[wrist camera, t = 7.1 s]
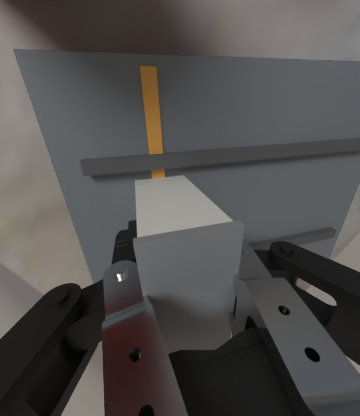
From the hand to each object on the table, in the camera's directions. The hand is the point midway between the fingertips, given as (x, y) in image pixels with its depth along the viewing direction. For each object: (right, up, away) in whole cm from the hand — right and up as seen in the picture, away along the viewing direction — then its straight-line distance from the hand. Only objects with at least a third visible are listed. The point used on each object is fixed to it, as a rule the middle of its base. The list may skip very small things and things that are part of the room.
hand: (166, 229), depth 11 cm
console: (+5, +3, +5) cm, 7 cm away
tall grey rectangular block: (0, 0, +1) cm, 1 cm away
